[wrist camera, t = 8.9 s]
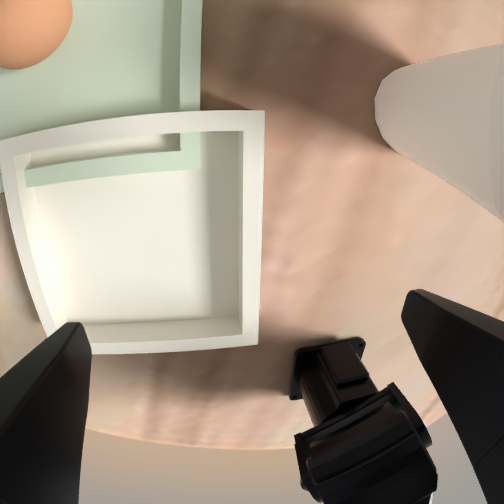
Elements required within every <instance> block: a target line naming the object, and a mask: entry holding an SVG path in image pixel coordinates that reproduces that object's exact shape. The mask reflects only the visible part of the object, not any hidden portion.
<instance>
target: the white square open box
mask: <svg viewBox="0 0 504 504" xmlns="http://www.w3.org/2000/svg"><path fill="white" fill-rule="evenodd" d="M264 129H265V111H262V110H209V111H186V112H169V113H156V114H145V115H135V116H126V117H118V118H110V119H103V120H96V121H89V122H83V123H77V124H71V125H66V126H61V127H56V128H51V129H46V130H41V131H37V132H32V133H28V134H24V135H20V136H16V137H12V138H8V139H5V140H1V141H0V166H1V173H2V180H3V187H4V193H5V198H6V204H7V209H8V214H9V218H10V223H11V227H12V232H13V236H14V240H15V244H16V247H17V251H18V255H19V258H20V262H21V265H22V269H23V272H24V275H25V278H26V281H27V285H28V288H29V290H30V293H31V296H32V299H33V302H34V305H35V307H36V310H37V313H38V315H39V318H40V320H41V323H42V326H43V328H44V330H45V333H46V335H47V338H48V337H49V336H50V335H51V334H53V333H54V332H55V331H56V330H57V329H59V328H60V327H61V326H62V325H64V324H65V323H66V322H81V323H82V324H83V326H84V329H85V332H86V334H87V337H88V340H89V343H90V346H91V350H92V354H139V353H162V352H180V351H194V350H207V349H219V348H229V347H239V346H249V345H257V344H258V329H259V301H260V271H261V240H262V206H263V169H264ZM185 132H200V146H201V169H195V170H178V171H164V172H151V173H139V174H128V175H118V176H109V177H100V178H92V179H84V180H76V181H69V182H62V183H55V184H48V185H42V186H36V187H30V188H26V181H25V174H24V170H27V169H29V168H31V167H35V166H40V165H45V164H51V163H57V162H63V161H69V160H76V159H83V158H90V157H98V156H105V155H114V154H123V153H133V152H143V151H155V150H168V149H181V147H180V133H185Z"/></svg>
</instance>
